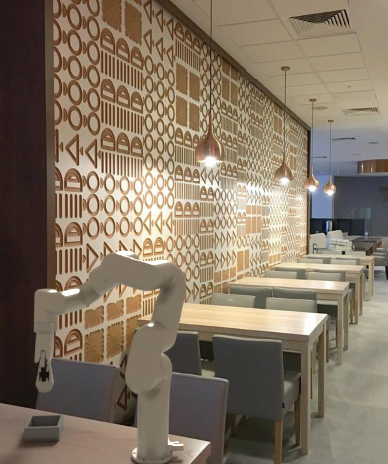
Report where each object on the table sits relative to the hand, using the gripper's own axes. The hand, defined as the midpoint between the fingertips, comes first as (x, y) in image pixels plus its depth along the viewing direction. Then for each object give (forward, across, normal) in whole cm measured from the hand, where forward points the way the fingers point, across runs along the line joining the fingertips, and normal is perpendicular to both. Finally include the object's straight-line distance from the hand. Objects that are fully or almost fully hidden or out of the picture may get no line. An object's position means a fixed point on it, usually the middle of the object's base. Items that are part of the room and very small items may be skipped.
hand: (44, 381), depth 170 cm
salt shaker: (+3, 0, 0) cm, 3 cm away
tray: (+18, 0, 0) cm, 18 cm away
